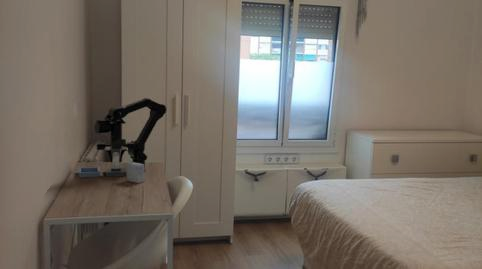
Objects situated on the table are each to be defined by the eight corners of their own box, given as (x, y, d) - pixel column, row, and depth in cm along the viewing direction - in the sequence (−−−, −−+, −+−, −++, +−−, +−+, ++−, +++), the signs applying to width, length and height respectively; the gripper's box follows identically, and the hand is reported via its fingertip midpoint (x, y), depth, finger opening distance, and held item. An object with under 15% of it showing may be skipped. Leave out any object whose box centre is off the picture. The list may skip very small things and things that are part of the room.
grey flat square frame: (125, 171, 234) (125, 167, 233) (126, 175, 224) (126, 171, 224) (105, 171, 230) (105, 168, 230) (106, 176, 221) (106, 172, 221)
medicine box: (144, 181, 214) (144, 164, 213) (138, 183, 210) (138, 165, 209) (133, 179, 218) (133, 161, 217) (126, 180, 214) (126, 163, 213)
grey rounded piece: (119, 167, 229) (119, 152, 228) (119, 169, 226) (119, 153, 225) (111, 167, 228) (111, 152, 227) (112, 169, 224) (112, 153, 223)
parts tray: (99, 171, 230) (99, 166, 230) (100, 177, 219) (100, 172, 219) (79, 172, 227) (78, 167, 227) (78, 177, 216) (78, 172, 215)
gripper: (97, 135, 214) (97, 166, 216) (136, 134, 220) (136, 165, 222) (96, 131, 224) (96, 161, 226) (133, 131, 230) (133, 160, 233)
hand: (115, 162), depth 226 cm, fingers closed on grey rounded piece, 4 cm apart
